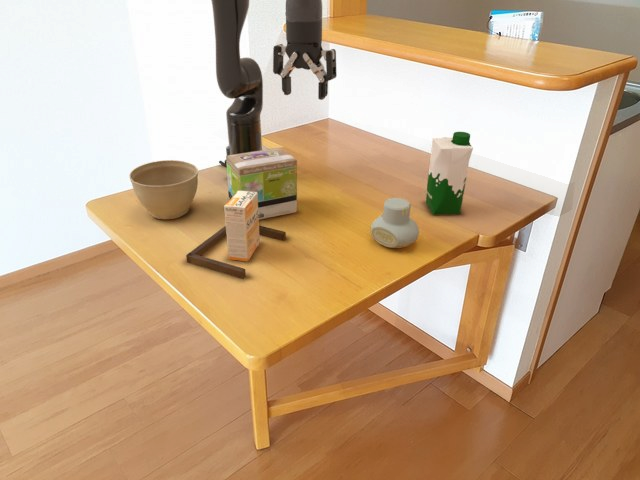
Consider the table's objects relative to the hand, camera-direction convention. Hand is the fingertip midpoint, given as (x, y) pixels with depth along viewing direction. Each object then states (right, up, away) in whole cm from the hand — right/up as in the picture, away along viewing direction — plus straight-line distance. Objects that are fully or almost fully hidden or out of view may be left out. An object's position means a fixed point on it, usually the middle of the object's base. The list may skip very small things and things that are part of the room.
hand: (304, 96), depth 114 cm
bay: (-14, -34, +1) cm, 37 cm away
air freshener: (+21, -32, +5) cm, 39 cm away
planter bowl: (-35, -25, +17) cm, 46 cm away
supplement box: (-13, -35, +1) cm, 37 cm away
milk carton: (+35, -24, +20) cm, 47 cm away
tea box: (-11, -25, +18) cm, 32 cm away
